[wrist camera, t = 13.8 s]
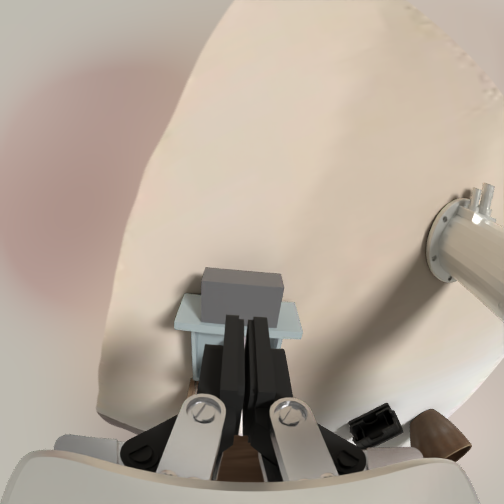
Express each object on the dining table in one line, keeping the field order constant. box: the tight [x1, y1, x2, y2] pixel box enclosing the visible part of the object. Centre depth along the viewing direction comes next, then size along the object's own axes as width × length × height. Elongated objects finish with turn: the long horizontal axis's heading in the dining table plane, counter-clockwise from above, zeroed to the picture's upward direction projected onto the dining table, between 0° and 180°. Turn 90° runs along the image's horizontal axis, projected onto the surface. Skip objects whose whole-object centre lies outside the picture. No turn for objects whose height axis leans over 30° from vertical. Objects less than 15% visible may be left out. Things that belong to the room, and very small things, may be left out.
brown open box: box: [187, 379, 264, 482], centre depth 34 cm, size 12×13×19 cm
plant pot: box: [410, 409, 472, 462], centre depth 42 cm, size 15×15×16 cm
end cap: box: [349, 403, 403, 450], centre depth 44 cm, size 10×7×7 cm
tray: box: [174, 267, 303, 381], centre depth 32 cm, size 18×14×6 cm
